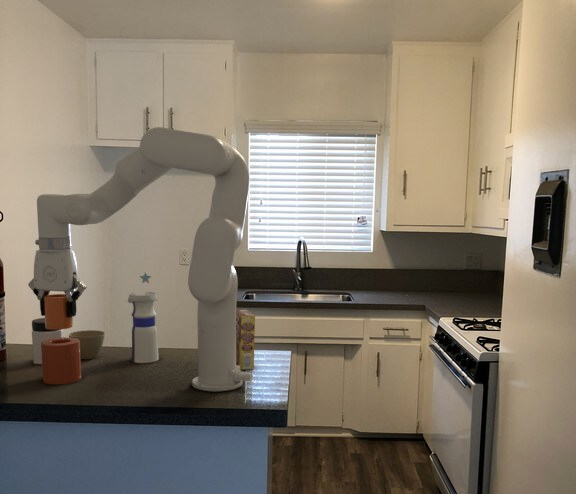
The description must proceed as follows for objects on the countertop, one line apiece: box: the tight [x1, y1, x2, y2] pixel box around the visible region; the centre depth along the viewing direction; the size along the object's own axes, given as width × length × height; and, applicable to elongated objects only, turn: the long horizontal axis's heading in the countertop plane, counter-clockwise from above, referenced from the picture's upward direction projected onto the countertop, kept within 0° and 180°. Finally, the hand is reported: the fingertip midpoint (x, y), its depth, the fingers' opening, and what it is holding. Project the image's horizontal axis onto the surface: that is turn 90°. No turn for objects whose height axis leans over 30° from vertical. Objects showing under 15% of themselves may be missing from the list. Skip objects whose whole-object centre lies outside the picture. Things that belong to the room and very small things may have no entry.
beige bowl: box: [68, 330, 106, 360], centre depth 183 cm, size 10×10×7 cm
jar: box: [31, 317, 65, 366], centre depth 177 cm, size 9×8×12 cm
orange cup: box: [44, 293, 74, 330], centre depth 158 cm, size 6×6×8 cm
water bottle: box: [127, 272, 160, 364], centre depth 179 cm, size 8×9×25 cm
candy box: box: [236, 309, 256, 371], centre depth 174 cm, size 9×4×15 cm, turn 16°
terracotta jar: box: [41, 336, 82, 385], centre depth 160 cm, size 9×9×10 cm
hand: (58, 315), depth 158 cm, fingers closed on orange cup, 6 cm apart
